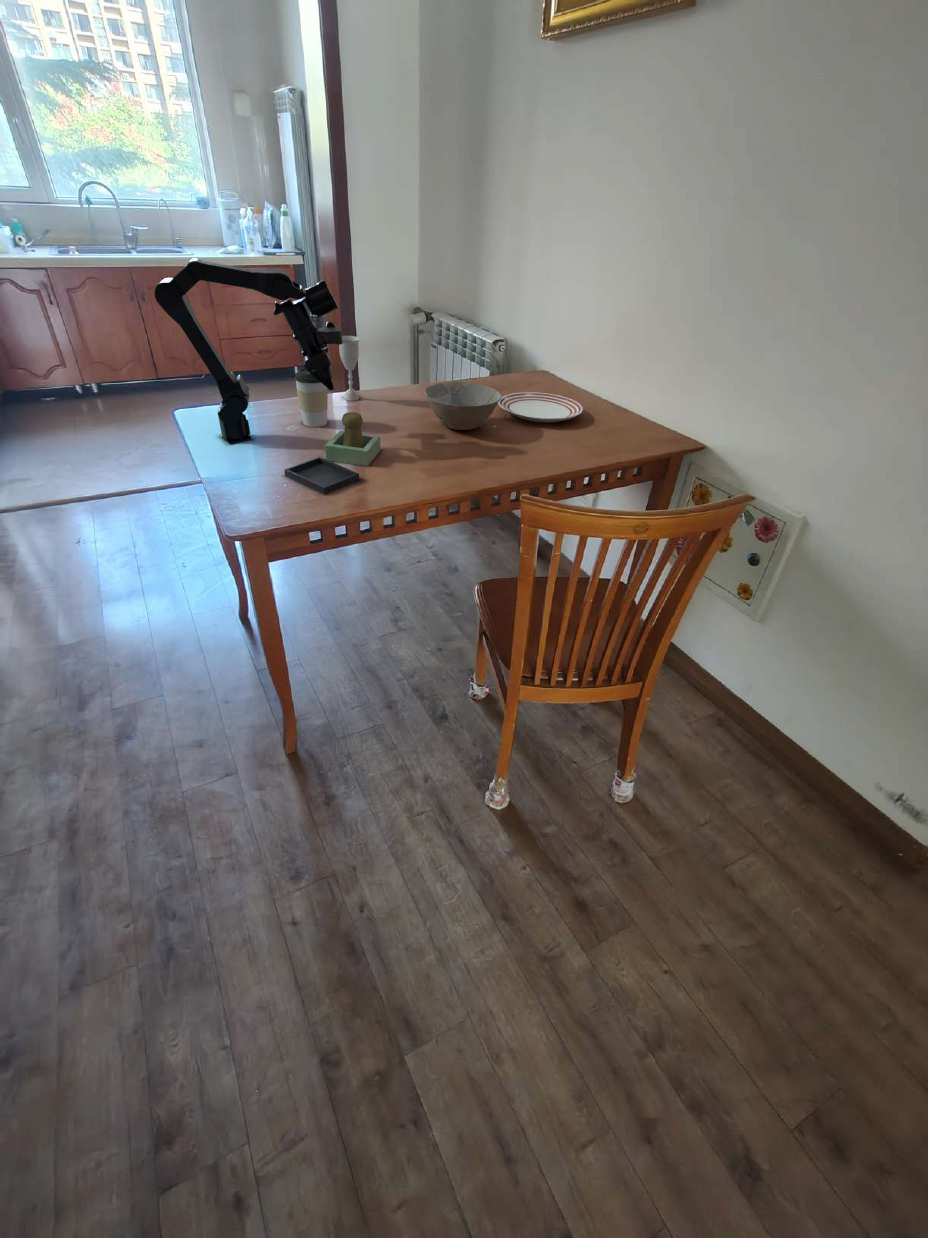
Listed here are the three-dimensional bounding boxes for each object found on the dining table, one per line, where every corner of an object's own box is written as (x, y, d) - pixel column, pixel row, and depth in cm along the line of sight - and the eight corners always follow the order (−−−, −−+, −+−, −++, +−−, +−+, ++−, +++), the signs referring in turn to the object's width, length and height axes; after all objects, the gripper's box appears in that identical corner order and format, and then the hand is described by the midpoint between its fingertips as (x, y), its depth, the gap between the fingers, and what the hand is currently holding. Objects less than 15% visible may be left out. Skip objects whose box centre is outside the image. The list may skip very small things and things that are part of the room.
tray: (284, 475, 144) (284, 469, 143) (320, 462, 151) (319, 456, 150) (324, 494, 138) (324, 487, 137) (359, 480, 145) (359, 473, 144)
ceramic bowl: (513, 429, 180) (517, 396, 174) (459, 446, 166) (461, 410, 160) (462, 408, 192) (465, 376, 185) (408, 422, 178) (408, 388, 172)
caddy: (326, 460, 153) (324, 445, 150) (341, 444, 162) (340, 430, 159) (367, 466, 152) (367, 451, 149) (380, 450, 160) (380, 435, 158)
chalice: (344, 393, 196) (340, 334, 185) (364, 395, 195) (362, 336, 184) (338, 400, 190) (334, 340, 179) (358, 402, 190) (356, 342, 179)
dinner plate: (480, 408, 193) (480, 398, 191) (536, 395, 208) (537, 385, 206) (542, 435, 178) (544, 424, 176) (598, 418, 193) (600, 408, 191)
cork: (365, 450, 160) (363, 409, 153) (365, 459, 155) (364, 417, 148) (342, 450, 158) (339, 409, 152) (342, 459, 154) (339, 417, 147)
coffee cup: (313, 430, 168) (308, 375, 159) (292, 422, 172) (286, 368, 163) (337, 422, 174) (333, 369, 165) (316, 414, 178) (311, 362, 169)
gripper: (332, 320, 140) (362, 382, 150) (329, 303, 154) (355, 361, 164) (290, 339, 140) (322, 400, 150) (290, 321, 154) (319, 378, 165)
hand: (331, 384), depth 157 cm, fingers open, 9 cm apart
